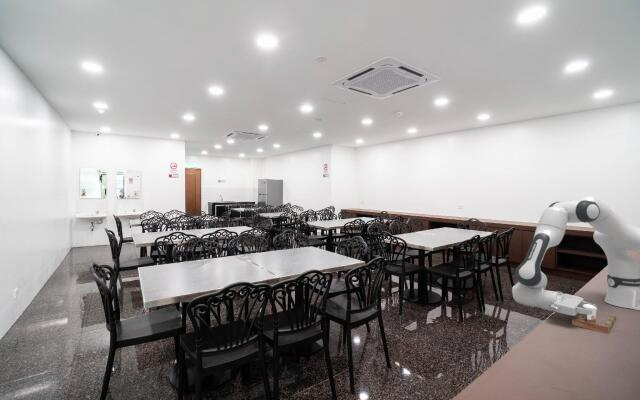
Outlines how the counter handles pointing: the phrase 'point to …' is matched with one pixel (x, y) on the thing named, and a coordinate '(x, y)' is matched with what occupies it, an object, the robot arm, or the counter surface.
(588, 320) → the milkshake
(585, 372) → the counter surface
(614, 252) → the robot arm
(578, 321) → the rail guide
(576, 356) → the counter surface
